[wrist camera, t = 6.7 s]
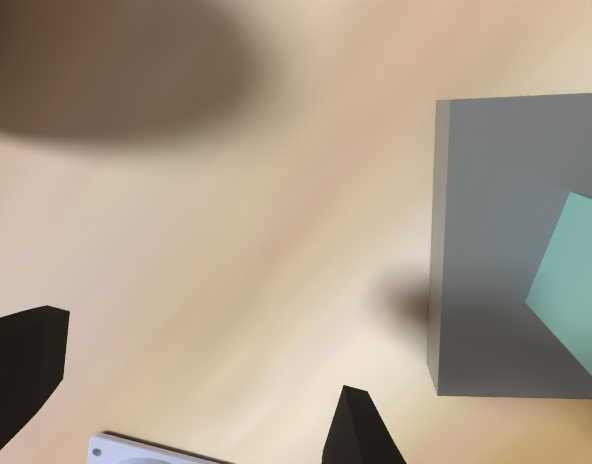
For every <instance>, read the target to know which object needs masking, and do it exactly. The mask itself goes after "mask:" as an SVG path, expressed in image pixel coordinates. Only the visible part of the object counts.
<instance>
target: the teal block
mask: <svg viewBox="0 0 592 464" xmlns="http://www.w3.org/2000/svg"><path fill="white" fill-rule="evenodd" d="M525 303H526V304H527V305H528V306H529V307H530V308H531V310H532V311H533V312H534V313H535V314H536V315H537V316H538V317H539V318H540V319H541V321H542V322H543V323H544V324H545V325H546V326H547V327H548V328H549V329H550V330H551V332H552V333H553V334H554V335H555V336H556V337H557V338H558V339H559V340H560V341H561V343H562V344H563V345H564V346H565V347H566V348H567V349H568V350H569V351H570V352H571V354H572V355H573V356H574V357H575V358H576V359H577V360H578V361H579V362H580V363H581V365H582V366H583V367H584V368H585V369H586V370H587V371H588V372H589V373H590V374H591V376H592V196H588V195H584V194H580V193H575V192H571V191H570V194H569V196H568V199H567V201H566V203H565V206H564V208H563V211H562V213H561V216H560V218H559V220H558V223H557V225H556V228H555V230H554V233H553V235H552V238H551V240H550V242H549V245H548V247H547V250H546V252H545V255H544V257H543V259H542V262H541V264H540V267H539V269H538V272H537V274H536V276H535V279H534V281H533V284H532V286H531V289H530V291H529V294H528V296H527V298H526V301H525Z"/></svg>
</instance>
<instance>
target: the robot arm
mask: <svg viewBox="0 0 592 464" xmlns="http://www.w3.org/2000/svg"><path fill="white" fill-rule="evenodd" d="M69 315H70V311H66V310H63V309H59V308H55V307H51V306H48V305H47V306H42V307H37V308H33V309H29V310H25V311H21V312H18V313H14V314H11V315H7V316H4V317H1V318H0V450H1V449H2V448H3V447H4V446H5V445H6V444H7V443H8V442H9V441H10V440H11V439H12V438H13V437H14V436H15V435H16V434H17V433H18V432H19V431H20V430H21V429H22V428H23V427H24V426H25V425H26V424H27V423H28V422H29V421H30V420H31V419H32V417H33V416H34V415H35V414H36V413H37V412H38V411H39V410H40V408H41V407H42V406H43V405H44V403H45V402H46V401H47V400H48V398H49V397H50V396H51V394H52V393H53V392H54V390H55V389H56V388H57V386H58V385H59V384H60V382H61V381H62V380H63V374H64V364H65V354H66V344H67V334H68V324H69ZM98 449H100V450H98ZM87 464H219V463H215V462H212V461H208V460H204V459H200V458H196V457H192V456H189V455H185V454H181V453H177V452H173V451H169V450H166V449H162V448H158V447H154V446H150V445H146V444H143V443H139V442H135V441H131V440H127V439H123V438H119V437H116V436H112V435H108V434H104V433H95V434H94V435H93V436H92V438H91V439H90V442H89V450H88V460H87ZM322 464H406V462H405V460H404V459H403V457H402V455H401V453H400V452H399V450H398V448H397V446H396V445H395V443H394V441H393V439H392V437H391V436H390V434H389V432H388V430H387V428H386V426H385V424H384V422H383V421H382V419H381V417H380V415H379V413H378V411H377V409H376V407H375V405H374V403H373V401H372V399H371V397H370V395H369V393H368V392H367V391H364V390H360V389H357V388H353V387H349V386H345V385H344V386H343V389H342V392H341V395H340V398H339V402H338V405H337V408H336V411H335V414H334V417H333V421H332V424H331V427H330V430H329V433H328V437H327V440H326V443H325V446H324V449H323V456H322Z"/></svg>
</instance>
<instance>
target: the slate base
mask: <svg viewBox="0 0 592 464" xmlns="http://www.w3.org/2000/svg"><path fill="white" fill-rule="evenodd" d="M570 191H571V192H575V193H580V194H584V195H588V196H592V93H580V94H560V95H539V96H518V97H497V98H477V99H456V100H436V125H435V153H434V181H433V208H432V236H431V264H430V292H429V319H428V347H427V365H428V368H429V371H430V374H431V377H432V380H433V384H434V387H435V390H436V393H437V396H474V397H518V398H562V399H592V376H591V374H590V373H589V372H588V371H587V370H586V369H585V368H584V367H583V366H582V365H581V363H580V362H579V361H578V360H577V359H576V358H575V357H574V356H573V355H572V354H571V352H570V351H569V350H568V349H567V348H566V347H565V346H564V345H563V344H562V343H561V341H560V340H559V339H558V338H557V337H556V336H555V335H554V334H553V333H552V332H551V330H550V329H549V328H548V327H547V326H546V325H545V324H544V323H543V322H542V321H541V319H540V318H539V317H538V316H537V315H536V314H535V313H534V312H533V311H532V310H531V308H530V307H529V306H528V305H527V304H526V303H525V301H526V298H527V296H528V294H529V291H530V289H531V286H532V284H533V281H534V279H535V276H536V274H537V272H538V269H539V267H540V264H541V262H542V259H543V257H544V255H545V252H546V250H547V247H548V245H549V242H550V240H551V238H552V235H553V233H554V230H555V228H556V225H557V223H558V220H559V218H560V216H561V213H562V211H563V208H564V206H565V203H566V201H567V199H568V196H569V194H570Z"/></svg>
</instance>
